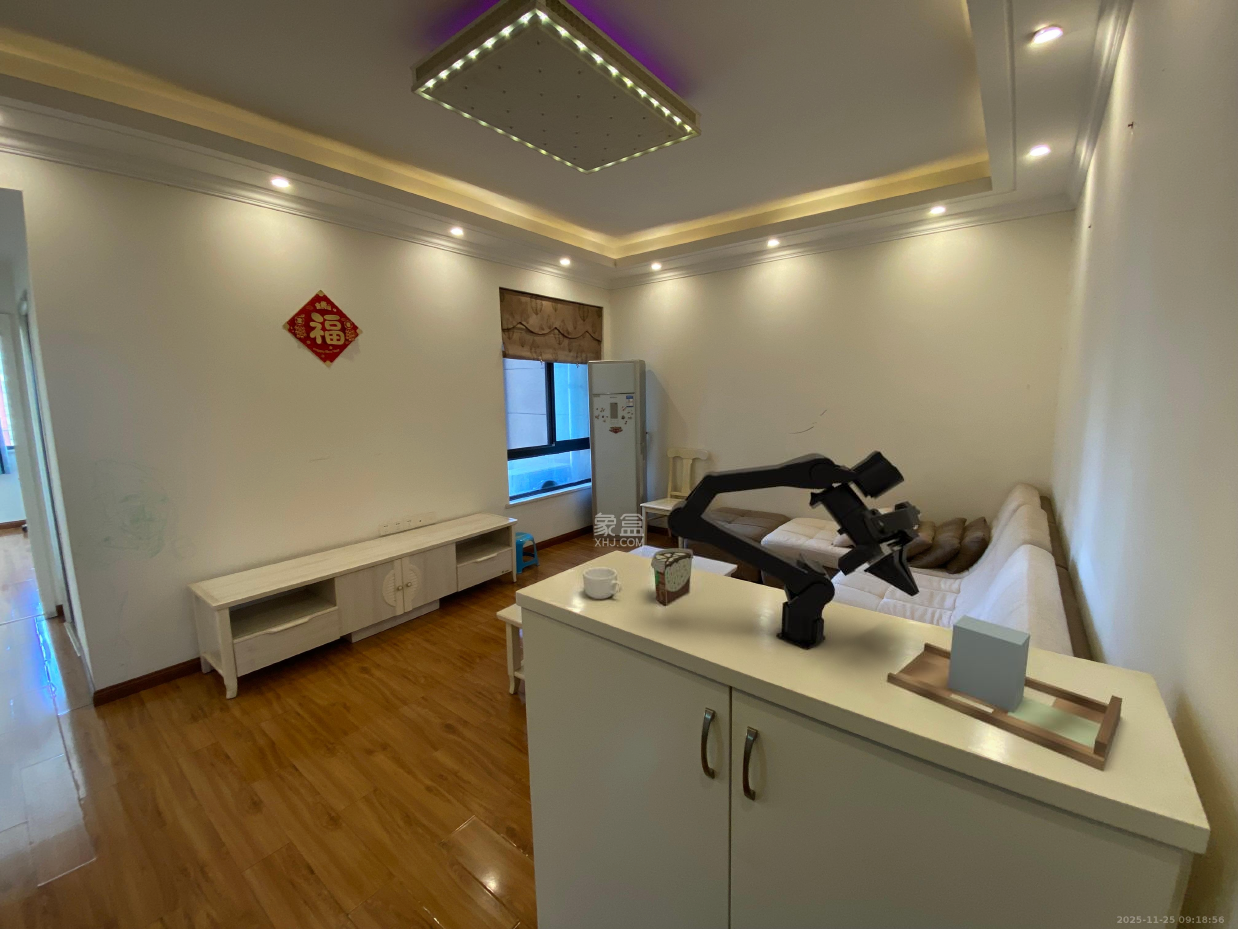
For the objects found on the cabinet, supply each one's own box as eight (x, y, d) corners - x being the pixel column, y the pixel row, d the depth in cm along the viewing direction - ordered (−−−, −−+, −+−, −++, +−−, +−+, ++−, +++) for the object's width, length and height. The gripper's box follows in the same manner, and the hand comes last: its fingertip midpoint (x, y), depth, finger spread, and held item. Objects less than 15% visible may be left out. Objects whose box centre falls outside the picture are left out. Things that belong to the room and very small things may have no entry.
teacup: (575, 596, 112) (575, 573, 111) (598, 586, 118) (598, 564, 117) (609, 608, 106) (609, 583, 105) (631, 596, 112) (631, 573, 111)
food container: (670, 585, 119) (671, 544, 117) (692, 591, 115) (693, 549, 113) (639, 601, 109) (639, 557, 108) (662, 608, 105) (663, 563, 104)
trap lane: (886, 687, 76) (888, 663, 76) (925, 654, 86) (927, 632, 86) (1101, 778, 58) (1105, 747, 58) (1119, 723, 68) (1123, 696, 67)
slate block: (947, 687, 75) (953, 624, 73) (958, 675, 78) (964, 615, 77) (1013, 713, 69) (1021, 645, 67) (1022, 699, 72) (1030, 634, 70)
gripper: (862, 493, 75) (938, 584, 68) (911, 481, 87) (979, 557, 80) (811, 533, 82) (875, 619, 75) (862, 516, 94) (922, 589, 87)
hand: (915, 594), depth 79 cm, fingers closed
